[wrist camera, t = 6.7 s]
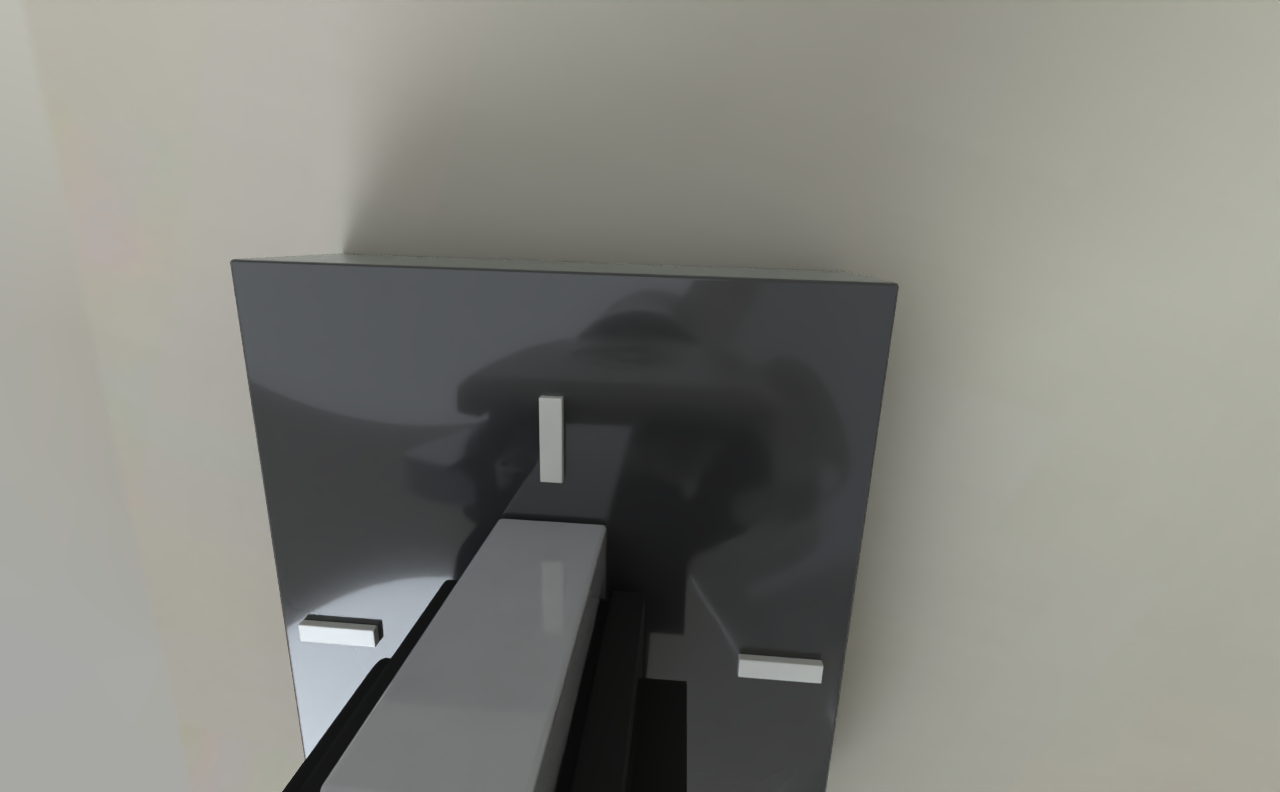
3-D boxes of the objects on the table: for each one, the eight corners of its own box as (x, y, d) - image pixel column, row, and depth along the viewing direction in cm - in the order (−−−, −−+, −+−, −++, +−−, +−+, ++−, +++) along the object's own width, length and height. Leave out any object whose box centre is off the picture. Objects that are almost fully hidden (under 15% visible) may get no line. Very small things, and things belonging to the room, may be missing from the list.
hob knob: (603, 767, 11) (530, 1224, 6) (508, 759, 11) (357, 1199, 6) (606, 523, 10) (517, 840, 5) (498, 515, 10) (296, 817, 5)
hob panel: (781, 804, 15) (806, 954, 12) (392, 767, 15) (318, 899, 12) (845, 271, 11) (905, 283, 8) (339, 253, 12) (220, 259, 9)
